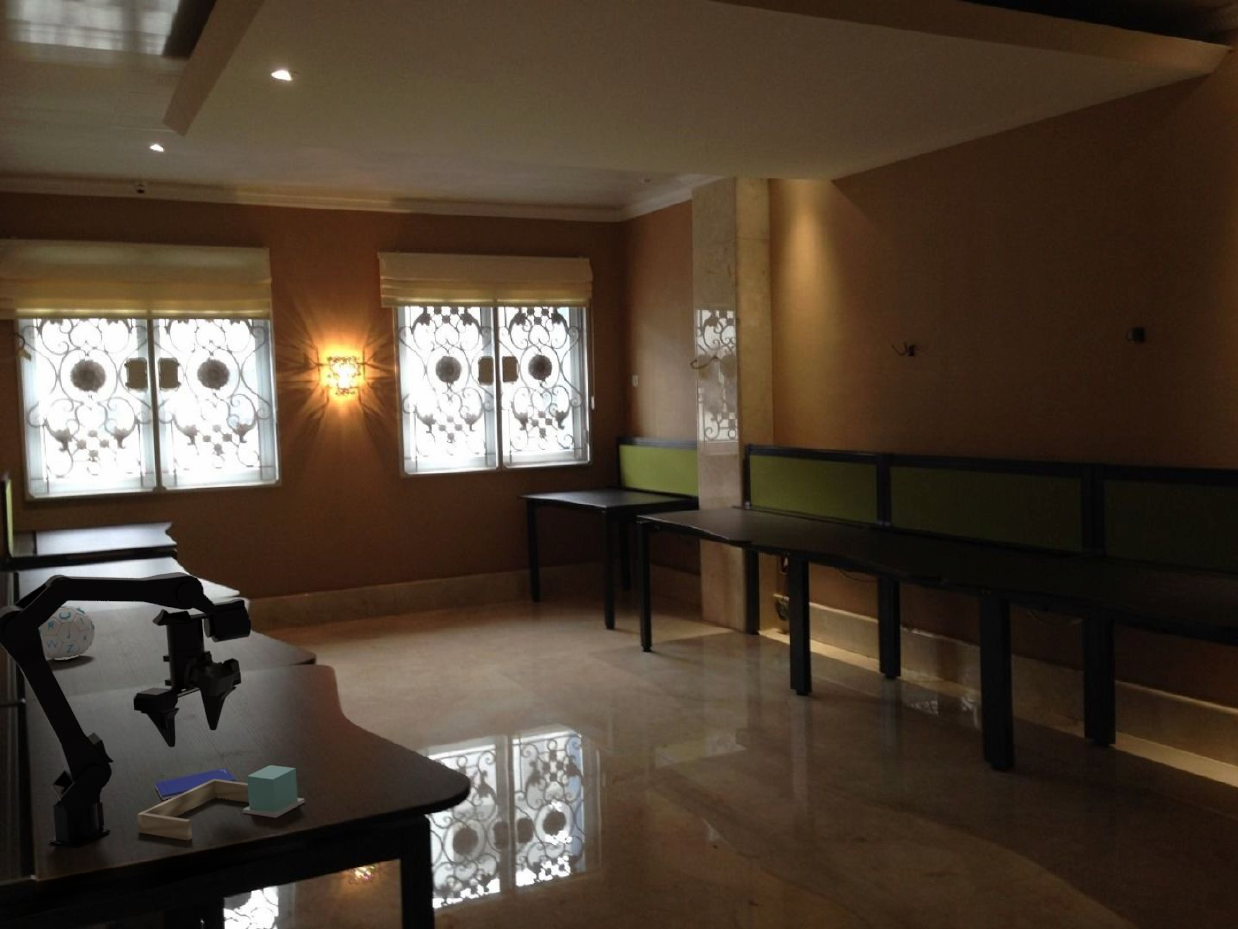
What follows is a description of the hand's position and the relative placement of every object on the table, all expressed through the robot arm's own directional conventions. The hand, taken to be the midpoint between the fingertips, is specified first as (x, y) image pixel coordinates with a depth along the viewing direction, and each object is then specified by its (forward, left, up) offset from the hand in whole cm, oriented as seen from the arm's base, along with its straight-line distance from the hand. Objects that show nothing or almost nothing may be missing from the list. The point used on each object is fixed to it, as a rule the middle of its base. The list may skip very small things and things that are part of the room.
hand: (193, 738), depth 184 cm
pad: (+4, -13, -12) cm, 18 cm away
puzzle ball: (+75, +124, -12) cm, 145 cm away
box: (-3, -4, -12) cm, 13 cm away
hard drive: (+8, +9, -13) cm, 17 cm away
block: (+4, -13, -11) cm, 18 cm away
